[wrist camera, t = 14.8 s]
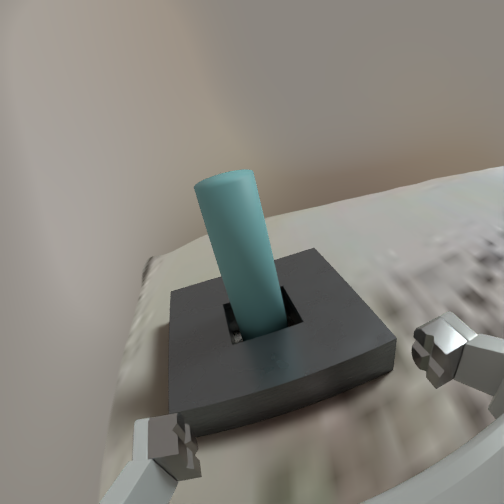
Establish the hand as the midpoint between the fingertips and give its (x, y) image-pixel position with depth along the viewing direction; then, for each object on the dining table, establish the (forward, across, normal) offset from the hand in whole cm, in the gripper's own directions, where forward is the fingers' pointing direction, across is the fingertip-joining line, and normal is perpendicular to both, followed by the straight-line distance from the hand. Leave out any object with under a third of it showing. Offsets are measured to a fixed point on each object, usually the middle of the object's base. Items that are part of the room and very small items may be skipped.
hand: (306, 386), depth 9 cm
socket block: (+12, 0, +9) cm, 15 cm away
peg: (+12, 0, +9) cm, 15 cm away
